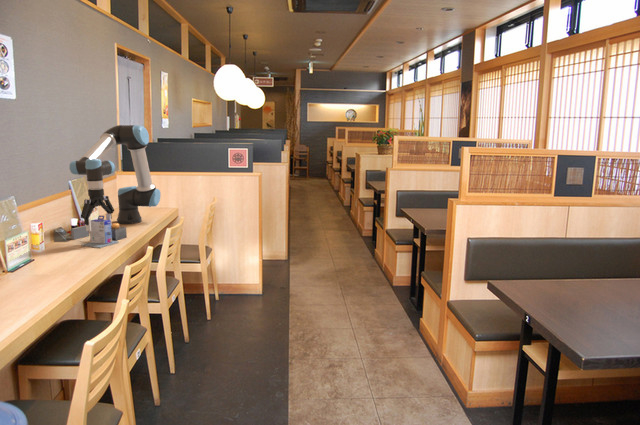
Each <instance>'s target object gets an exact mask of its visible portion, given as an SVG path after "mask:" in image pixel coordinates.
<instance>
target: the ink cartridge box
mask: <svg viewBox="0 0 640 425" xmlns="http://www.w3.org/2000/svg"><path fill="white" fill-rule="evenodd" d="M90 221H91V231H89V237H90V238H91V240H90V242H91V243H100V244H107V243H110V242H112V241H113V240H112V232H111V224H112V219H111V220H106V219H105V215H98V216H97V219H92V220H91V219H90Z"/></svg>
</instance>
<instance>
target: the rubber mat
mask: <svg viewBox="0 0 640 425" xmlns="http://www.w3.org/2000/svg"><path fill="white" fill-rule="evenodd" d="M119 242H120V240H117V241H114V240H112V242H110V243H107V244H100V243H91V241H90V242H87V243H86V242H85V243H82V244H80V246H81V247H86V248H87V247H89V248H94V249H95V248H97V249H101V248H105V247H108V246H112V245H115V244H119Z"/></svg>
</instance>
